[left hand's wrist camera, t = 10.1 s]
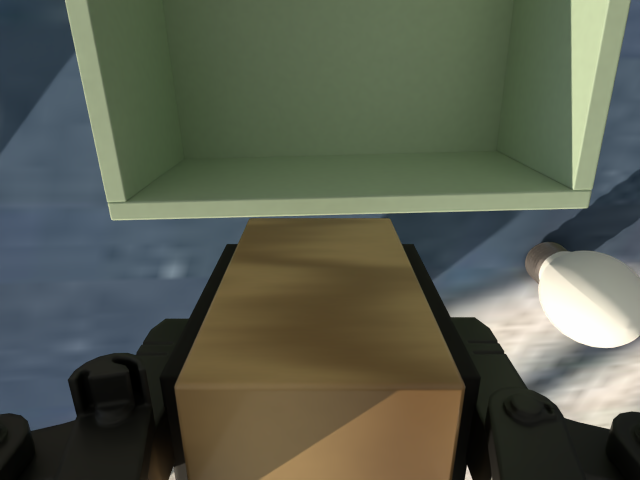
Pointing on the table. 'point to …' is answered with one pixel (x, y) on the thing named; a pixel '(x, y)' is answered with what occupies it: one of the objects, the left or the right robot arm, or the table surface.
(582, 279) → the light bulb
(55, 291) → the table surface
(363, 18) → the sage bin
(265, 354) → the beech block
